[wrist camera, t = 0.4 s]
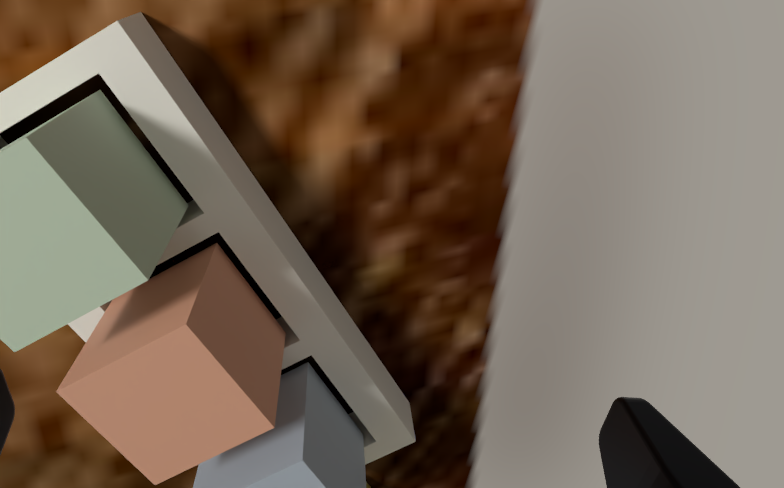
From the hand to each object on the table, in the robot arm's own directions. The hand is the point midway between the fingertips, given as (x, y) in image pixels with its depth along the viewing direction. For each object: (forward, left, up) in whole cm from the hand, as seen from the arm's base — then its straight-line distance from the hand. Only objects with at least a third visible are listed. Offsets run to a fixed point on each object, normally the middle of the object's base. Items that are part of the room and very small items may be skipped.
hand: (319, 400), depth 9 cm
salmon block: (-7, -3, -12) cm, 14 cm away
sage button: (-7, +3, -12) cm, 14 cm away
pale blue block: (-7, -9, -12) cm, 17 cm away
